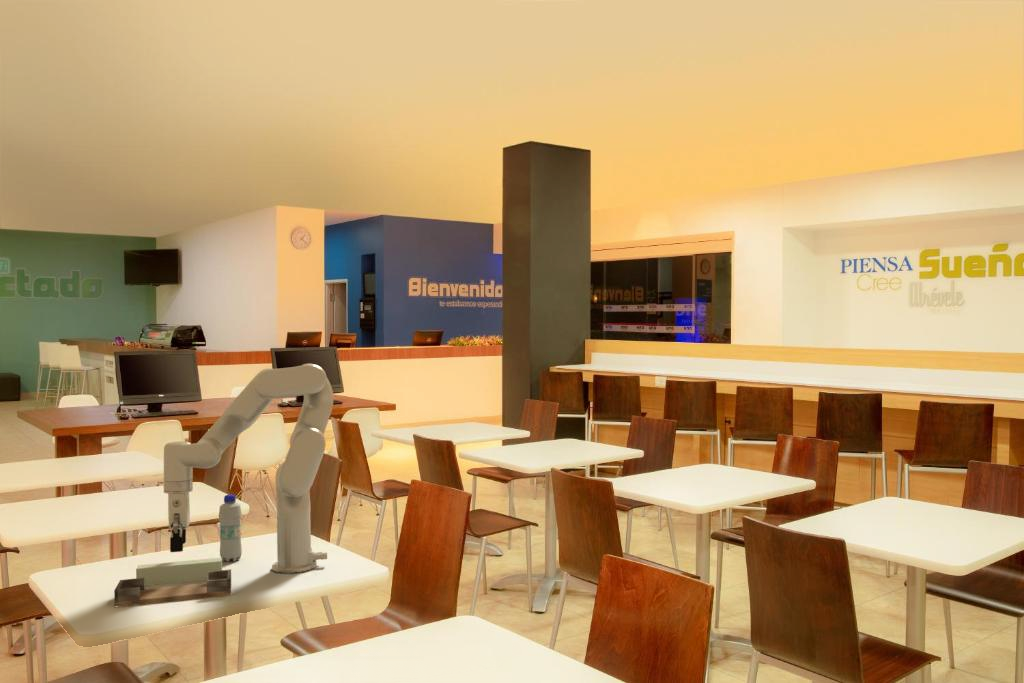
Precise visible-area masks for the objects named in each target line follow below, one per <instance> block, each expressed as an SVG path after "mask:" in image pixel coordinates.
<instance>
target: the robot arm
mask: <svg viewBox="0 0 1024 683" xmlns="http://www.w3.org/2000/svg"><path fill="white" fill-rule="evenodd" d="M333 392H334V390H333V387H332V385H331V382H330V381H329V378H328V377H327V374H326V371H325V370H324V369H323V368H322V367H321V366H319V365H318V364H314V363H303V364H301V365H298V366H297V365H296V366H292V367H283V368H282V367H281V368H264V369H262V370H260V371H258V373H256V375H255V376H254V377H253V378H252V379H251V380H250V382H249V383H248V384H247V385H246V387H245V388H243V390H241V392H240V393H239V394H238V395H237V396H236V398H235V399H233V401H232V402H231V403H229V405H228V407H227V408H226V409H225V410H223V413H222V414H221V415H220V417H218V419H217V420H216V421H215V422H214V424H213V425H212V426H211V427H210V428H209V429H208V430H207V431H206V432H205V434H203V436H201V438H200V439H199V440H198V442H196V443H195V442H194V443H191V442H189V441H171V442H168V443H165V445H164V446H163V493H164V494H167V502H168V503H167V511H168V512H167V513H168V514H167V515H168V516H167V518H168V528H169V529H170V530H171V531H170V537H169V538H170V539H169V541H170V544H169V549H170V550H169V552H170V553H182V552H183V551H184V544H186V542H187V534H186V533H187V532H186V531H187V528H189V526H190V523H191V519H190V518H191V517H190V516H191V515H190V492H193V487H194V484H193V482H194V480H193V477H194V475H193V472H194V471H193V470H194V468H197V469H210V468H213V467H215V466H216V465H218V464H219V462H220V461H221V459H222V454H223V453H224V452H225V451H226V450H227V448H229V446H230V445H231V444H232V443H233V442H234V441H235V440H236V439H237V438H238V437H239V436H240V435H241V434H242V433H244V432H245V431H246V430H248V429H250V427H252V425H254V424H255V422H256V421H257V420H258V419H259V418H260V417H261V415H262V414H263V413H264V412H265V411H266V410H267V409H268V407H269V406H270V405H271V404H272V403H273V402H274V400H276V399H277V400H278V399H285V398H294V397H299V396H301V397H302V396H303V403H302V406H301V409H300V413H299V415H298V418H297V421H296V424H295V426H294V428H293V431H292V433H291V434H290V436H289V445H290V446H289V448H288V449H289V450H288V452H287V454H286V457H285V460H284V461H283V462H281V464H280V465H278V467H277V469H276V471H275V477H274V478H275V481H274V482H275V493H276V495H275V496H276V497H275V498H276V544H277V546H276V550H277V551H276V552H277V553H276V554H277V555H276V556H277V557H276V558H277V561H275V562H274V563H272V565H271V569H272V571H274V572H275V571H276V572H275V573H279V572H281V573H280V574H294V573H295V572H297V573H303V572H307V570H308V571H310V570H313V569H314V568H316V567H317V560H318V561H320V560H322V561H323V560H327V559H328V553H327V552H323V551H318V552H315V551H313V549H312V545H311V544H312V542H311V541H312V537H311V536H312V535H311V534H312V533H311V528H312V527H311V491H310V490H311V488H312V486H313V484H314V481H315V478H316V476H317V473H318V471H319V468H320V465H321V462H322V460H323V456H324V453H325V451H326V439H325V433H326V429H327V426H328V424H329V419H330V417H331V414H332V410H333V405H334V393H333ZM302 571H303V572H302ZM295 574H296V573H295Z"/></svg>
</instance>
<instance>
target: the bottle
mask: <svg viewBox="0 0 1024 683" xmlns="http://www.w3.org/2000/svg"><path fill="white" fill-rule="evenodd" d="M236 500H237V498H236V495H235V494H231V493H230V494H226V495H224V497H223V503H222V504H221V505H220V506H219V510H218V522H219V532H220V533H219V534H220V535H219V536H220V538H219V539H220V542H219V556H220V558H222V562H227V563H229V562H228V561H230V562H231V559H232V562H236V561H237V559H239V560H240V559H241V557H242V554H243V552H242V551H243V549H242V534H241V533H242V532H241V530H242V529H241V526H242V524H241V521H242V517H243V516H242V515H243V514H242V506H241V504H240V503H238V502H236Z"/></svg>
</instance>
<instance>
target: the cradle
mask: <svg viewBox="0 0 1024 683" xmlns="http://www.w3.org/2000/svg"><path fill="white" fill-rule="evenodd" d="M208 578H209V579H206V582H203V583H202V582H201V583H200V582H199V583H191V584H182V585H171V586H160V587H150V588H145V585H144V578H130V579H129V578H127V579H120V580H119V581H118V583H117V585H116V587H115V589H114V590H113V591H114V592H113V593H114V599H113V600H114V607H115V606H121V607H127V606H126V605H130V606H135V605H134V604H140V605H150V604H156V603H157V604H158V603H165V602H166V603H167V602H177V601H186V600H196V599H206V598H205V597H207V598H213V597H214V596H216V597H224V596H223V595H226V596H231V595H230V594H231V593H232V569H231V568H229V569H222V570H219V571H209V572H208ZM214 598H215V597H214ZM146 603H148V604H146Z"/></svg>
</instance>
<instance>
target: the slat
mask: <svg viewBox="0 0 1024 683" xmlns="http://www.w3.org/2000/svg"><path fill="white" fill-rule="evenodd" d="M219 570H223V561H222V558H221V557H215V558H214V557H212V558H202V559H192V560H191V559H190V560H182V561H171V562H158V563H147V564H146V563H145V564H138V565H137V567H136V568H135V573H136V574H135V575H136V576H135V577H136V578H144V586H151V585H152V584H154V585H161V584H163V585H164V584H172V583H173V584H174V583H183V581H184V582H191V580H195V581H201V580H200V579H205V580H209V578H208V572H209V571H219ZM136 578H135V579H136Z"/></svg>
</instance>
